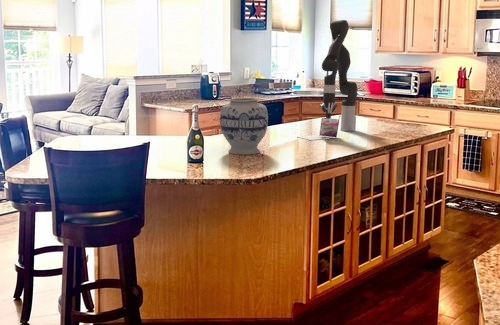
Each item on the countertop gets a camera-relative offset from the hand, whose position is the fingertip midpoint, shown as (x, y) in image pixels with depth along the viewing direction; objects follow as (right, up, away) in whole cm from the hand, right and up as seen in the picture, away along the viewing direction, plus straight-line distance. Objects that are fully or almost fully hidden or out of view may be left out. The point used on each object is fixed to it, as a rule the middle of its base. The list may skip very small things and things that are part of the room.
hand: (328, 118), depth 404 cm
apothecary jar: (-54, -22, -49) cm, 76 cm away
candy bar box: (0, -9, +2) cm, 10 cm away
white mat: (-10, -12, -1) cm, 15 cm away
